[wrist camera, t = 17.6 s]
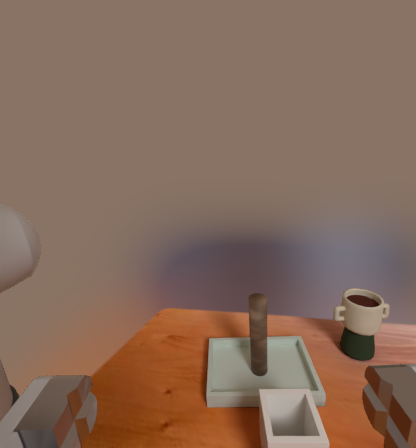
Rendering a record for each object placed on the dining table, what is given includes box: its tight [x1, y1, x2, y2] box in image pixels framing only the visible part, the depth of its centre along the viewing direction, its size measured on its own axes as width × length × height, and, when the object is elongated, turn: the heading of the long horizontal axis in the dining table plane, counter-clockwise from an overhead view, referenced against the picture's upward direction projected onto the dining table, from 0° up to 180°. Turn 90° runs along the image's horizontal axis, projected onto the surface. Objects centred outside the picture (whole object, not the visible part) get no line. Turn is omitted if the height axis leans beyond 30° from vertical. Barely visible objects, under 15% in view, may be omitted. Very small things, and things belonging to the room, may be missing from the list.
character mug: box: [333, 288, 390, 361], centre depth 53 cm, size 11×7×13 cm, turn 90°
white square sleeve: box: [259, 389, 329, 448], centre depth 36 cm, size 7×7×9 cm
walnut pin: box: [249, 293, 268, 376], centre depth 49 cm, size 3×3×16 cm
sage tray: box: [206, 336, 326, 407], centre depth 51 cm, size 20×14×2 cm
